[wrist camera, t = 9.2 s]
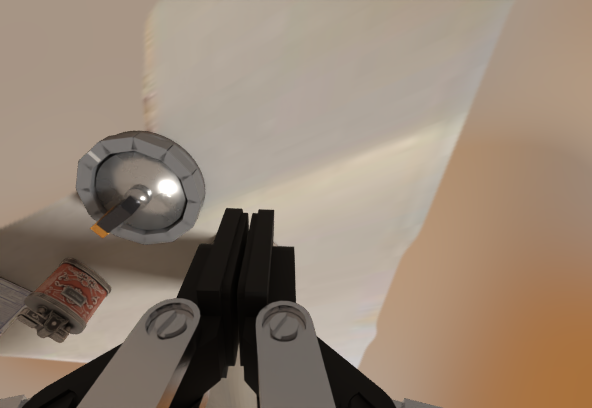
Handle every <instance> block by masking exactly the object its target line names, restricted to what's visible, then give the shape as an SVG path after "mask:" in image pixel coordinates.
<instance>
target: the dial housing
mask: <svg viewBox="0 0 592 408" xmlns="http://www.w3.org/2000/svg"><path fill="white" fill-rule="evenodd" d="M127 151H137V152H140V153H142V154H145V155H148V156H151V157H153V158H156V159H159V160H161V161H162V162H163V163H164V164H165V165H167V166H168V167H169V168H170V169H171V170H172V171H173V172H174V173H175V174H176V175H177V176H178V177H179V178H180V179H181V182H182V185H183V188H184V191H185V194H186V197H187V205H186V207H185V209H184V211H183V212H182V214H181V216H180V217H179V218H178V219H177V221H175V222H174V223H173V224H171V225H170V226H168V227H165V228H162V229H157V230H143V229H138V228H134V227H131V226H129V225H127V224H125V223H121V224H120V225H119V226H117V227H116V228H115V229H113V230H112V231H111V233H112V234H113V235H116V236H117V237H121V238H124V239H127V240H131V241H134V242H137V243H140V244H145V245H148V244H157V243H166V242H173V241H175V240H176V239H177V238H179V237H180V236H182V235H183V234H184V233H186V232H187V231H188V230H190V229H191V228H193V226H194V224H195V222H196V221H197V219H198V216H199V212H200V209H201V207H202V205H203V202H204V198H205V184H204V179H203V176H202V173H201V171H200V169H199V167H198V165H197V164H196V162H195V161H194V159H193V158H192V157H191V156H190V154H189V153H188V152H187V151H186V150H185V149H183V148H182V147H181V146H180V145H178V144H177V143H175V142H174V141H172V140H170V139H168V138H166V137H164V136H161V135H158V134H156V133H151V132H146V131H128V132H123V133H120V134H117V135H113V136H108V137H106V138H105V139H103V140H101V141H99V142H98V143H97V144H96V145H95V146H94V147H93V148H92V149H91V150H89V151H88V152H87V154H86V155H84V156H83V157H82V158H81V159H80V160H79V162H78V171H77V181H76V188H77V189H76V190H77V192H78V194H79V196H80V198H81V200H82V202H83V204H84V206H85V208H86V210H87V212H88V213H89V215H91V217H92V218H93V219H94V220H96V221H98V220H99V219H100V218H101V217H102V216H103V215H105V214H106V213H107V212H108V210H107V209H106V208H105V207H104V205H103V204H102V202H101V201H100V199H99V196H98V194H97V190H96V176H97V173H98V171H99V169H100V167H101V166H102V164H103V163H104V162H105V161H107V160H108V159H109V158H111V157H112V156H114V155H115V154H117V153H119V152H127Z"/></svg>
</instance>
